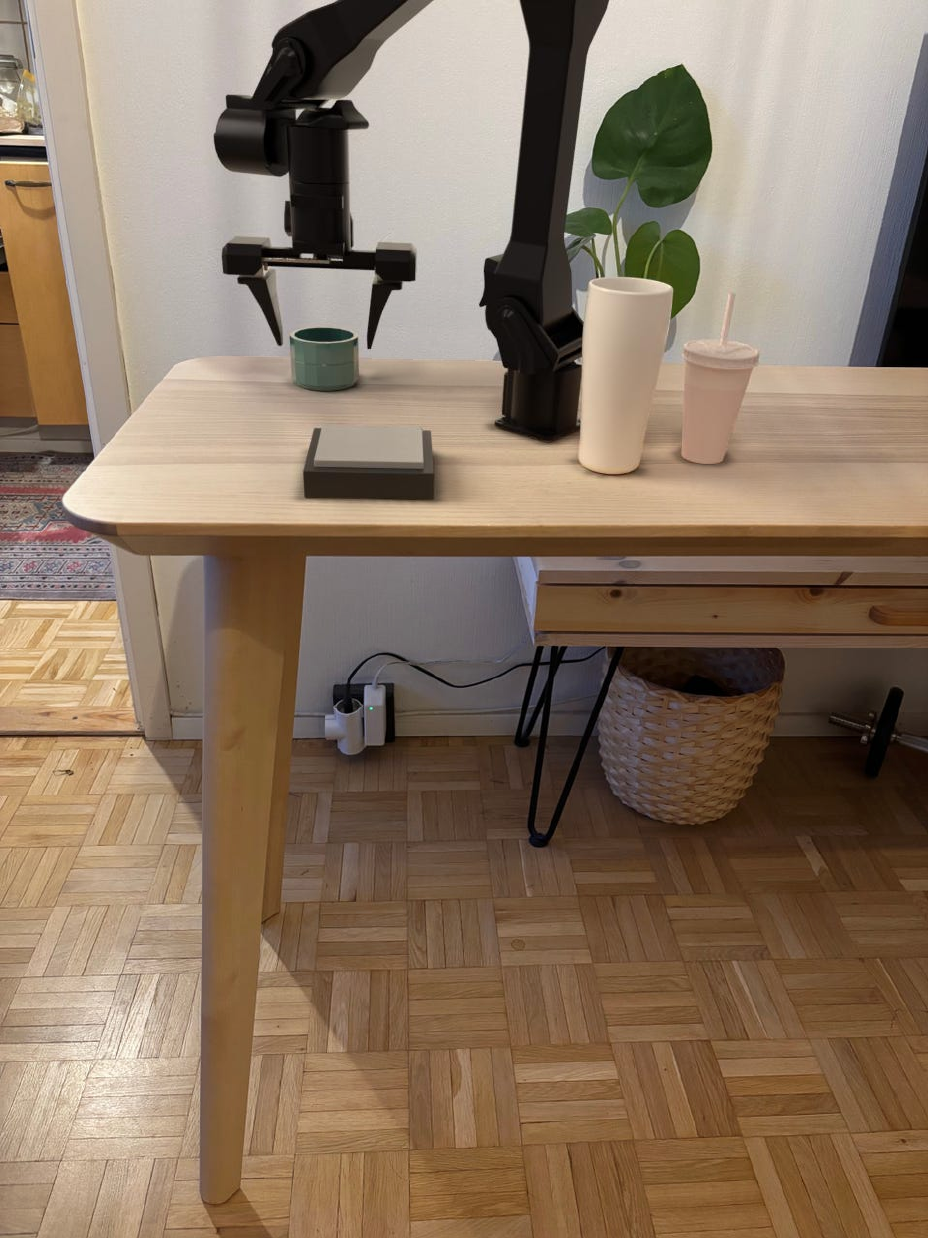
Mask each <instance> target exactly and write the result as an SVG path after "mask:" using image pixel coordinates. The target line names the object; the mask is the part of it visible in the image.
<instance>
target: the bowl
mask: <svg viewBox="0 0 928 1238" xmlns="http://www.w3.org/2000/svg"><path fill="white" fill-rule="evenodd" d="M359 349H360V348H359V333H357V332H356V331H354V330H353V329H349V328H345V327H338V326H337V327H336V326H307V327H302V328H297V329H295V330H292V331H291V332H289V354H290V355H289V356H290V371H291V373H290V374H291V379H292V380H293V381H294V382H296V384H297V385H298V386H299V387H301V388H303V389H307V390H312V391H319V392H332V391H342V390H345V389H349V388H351V387H353V386H354V385H355V383H356V382H357V381H358V380H359V379H360V361H359V359H360V358H359V356H360V355H359V354H360V353H359V352H360V351H359Z"/></svg>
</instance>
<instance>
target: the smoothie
mask: <svg viewBox="0 0 928 1238" xmlns="http://www.w3.org/2000/svg"><path fill="white" fill-rule="evenodd" d="M735 298H736V293H735V292H728V294H727V301H726V306H725V312H724V318H723V322H722V328H721V334H720V339H718V338H717V339H716V338H699V339H692V340H689V341H686V342H685V343H684V345H683V349H682V353H681V358H683V360H684V377H683V379H684V381H683V403H682V404H683V405H682V406H683V407H682V430H681V431H682V433H681V453H680V454H681V457H682V458H683V459H684V460H687V461H688V462H692V463H696V464H700V465H701V464H702V465H716V464H720V463H722V462H723V461H724V460H725V459H724V458H725V455H726V452H727V449H728V447H729V443H730V440H731V437H732V435H733V431H734V428H735V424H736V422H737V418H738V415H739V412H740V409H741V406H742V403H743V401H744V397H745V395H746V393H747V389H748V386H749V383H750V379H751V376H752V373H753V370H754V368H756V367H758V365H759V358H760V354H761V353H760V350H759V349H758V348H757V347H754V346H753V345H751V344H748V343H747V344H746V343H743V342H739V341H733V340H728V337H729V332H730V326H731V321H732V315H733V311H734V305H735V300H736V299H735Z"/></svg>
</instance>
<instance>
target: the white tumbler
mask: <svg viewBox="0 0 928 1238" xmlns="http://www.w3.org/2000/svg"><path fill="white" fill-rule="evenodd" d="M587 287H588V288H587V292H586V298H585V307H584V314H583V322H584V324H583V338H582V357H581V365H582V378H581V387H580V429H579V442H578V451H577V457H578V461H579V463H580V464H581V466H583V467H584V468H586V469H588V470H590V471H592V472H595V473H599V474H606V475H621V474H622V475H623V474H627V473H630V472H633V471H635V470H636V469H637V468H638V467H639V465H640V464H641V458H642V452H643V445H644V440H645V435H646V432H647V431H646V430H647V428H648V427H647V426H648V423H649V419H650V413H651V409H652V405H653V401H654V396H655V392H656V388H657V384H658V379H659V376H660V371H661V367H662V363H663V359H664V354H665V350H666V346H667V342H668V341H667V340H668V334H669V328H670V324H671V323H670V322H671V316H672V315H671V313H672V305H673V297H674V296H673V295H674V288H673V286H671V285H670V284H668V283H666V282H662V281H658V280H654V279H649V278H641V277H631V276H630V277H629V276H606V277H605V276H603V277H599V278H593V279H592V280H590V281H589V282H588V286H587Z"/></svg>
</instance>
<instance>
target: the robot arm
mask: <svg viewBox="0 0 928 1238" xmlns="http://www.w3.org/2000/svg"><path fill="white" fill-rule="evenodd" d="M518 1H519V5H520V10H521V15H522V18H523V22H524V28H525V31H526V35H527V39H528V57H527V58H528V59H527V68H526V69H527V70H526V79H525V89H524V99H523V109H522V120H521V129H520V130H521V132H520V140H519V148H518V149H519V150H518V158H517V160H518V161H517V169H516V178H515V179H516V180H515V190H514V191H515V192H514V202H513V209H512V211H513V212H512V222H511V232H510V236H509V239H508V242H507V245H506V247H505V249H504V251H503V253H500V254H497V255H492V256H488V257H485V259H484V264H483V293H482V296H481V299H480V301H479V303H478V307H479V308H484V307H485V308H484V309H485V310H484V320H485V324H486V328H487V330H488V331H490V332H491V334H492V335H493V337H494V338H495V341H496V344H497V349H498V353H499V356H500V360H501V364H502V367H503V368H504V369H507V371H505V372H504V373H503V382H502V383H503V385H502V398H501V399H502V400H501V401H502V402H501V415H502V417H500V418H497V419H495V420H494V426H495V427H497V428H500V429H504V430H507V431H511V432H514V433H517V434H520V435H524V436H527V437H530V438H533V439H537V440H541V441H544V442H552V441H554V440H557V439H560V438H562V437H564V436H566V435H568V434H571V433H574V432H576V431H577V430H580V420H581V418H580V419H579V418H578V416H579V407H580V397H581V378H582V364H579V363H577V362H576V361H577V360H578V359H580V358H582V338H583V324H584V320H583V319H582V318H581V317H580V315H579V313H578V312H577V311H576V309H575V308H574V307H573V275H572V274H573V273H572V268H571V267H572V266H571V264H570V259H569V255H568V251H567V247H566V243H565V233H566V223H567V216H568V207H569V200H570V192H571V185H572V177H573V169H574V161H575V154H576V153H575V152H576V147H577V146H576V144H577V138H578V130H579V129H578V128H579V121H580V114H581V113H580V112H581V106H582V100H583V99H582V97H583V90H584V81H585V74H586V66H587V58H588V54H589V50H590V47H591V45H592V42H593V40H594V38H595V36H596V34H597V31H598V30H599V27H600V25H601V23H602V21H603V19H604V17H605V14H606V12H607V10H608V6H609V3H610V0H518ZM432 2H434V0H335V1H334V2H331V3H329V4H325V5H322V6H320V7H317V8H314V9H312V10H308V11H307V12H305V13H303V14H302V15H299V17H296V18H295V19H293V20H292V21H290V22H288V23H286V24H285V25H282V27H281V28H279V29H278V31H277V32H276V33H275V34H274V37H273V39H272V41H271V48H272V53H271V56H270V58H269V60H268V62H267V64H266V66H265V69H264V71H263V73H262V75H261V77H260V79H259V81H258V84H257V86H256V87H255V90H254V92H253V94H252V96H251V95H249V94H226V95H225V107H226V108H225V109H224V110H223V111H222V113H220V115H219V117H218V119H217V122H216V125H215V132H214V133H213V146H214V151H215V153H216V156H217V158H218V160H219V162H220V164H221V165H222V166H223V167H224V168H225V169H226V170H228V171H229V172H232V173H239V174H250V175H258V176H268V177H277V178H281V177H283V176H286V175H287V174H288V188H289V200H285V201H284V211H283V229H284V232H285V234H286V235H287V237H290V238H291V245H292V246H291V247H290V246H272V243H271V239H270V237H266V236H265V237H262V236H240V235H239V236H238V235H235V236H234V237H233V238H231V239H230V240H229V241H227V242H226V244H225V245H224V246H223V247H222V249H221V263H222V264H221V266H222V274H224V275H227V276H238V277H237V278H236V280H237V281H236V282H237V284H238V285H245V286H247V287H248V289H249V292H251V294H252V296H253V298H254V300H255V302H256V303H257V304H258V305H259V308H260V309H261V312H262V313H263V316H264V318H265V320H266V323H267V325H268V327H269V329H270V332H271V333H272V336H273V338H274V340H275V342H276V345H277V346H278V347H282V346H283V344H284V329H283V323H282V316H281V309H280V303H279V296H278V290H277V273H276V271H277V270H276V269H275V268H273V267H278V268H300V269H302V268H303V269H325V270H326V269H327V270H328V269H329V270H350V271H351V270H352V271H353V270H354V271H374V278H373V281H372V283H371V294H370V302H369V312H368V320H367V321H368V322H367V330H366V349H367V350H371V349H372V347H373V343H374V340H375V338H376V333H377V330H378V327H379V323H380V320H381V316H382V314H383V311H384V309H385V307H386V305H387V302H388V301H389V299H390V295H391V294H392V292H393V291H401V290H403V287H404V282H405V283H407V282H409V283H410V282H411V283H412V282H416V280H417V273H418V271H417V270H418V269H417V268H418V266H417V265H418V264H417V263H418V262H417V261H418V250H417V248H416V247H415V246H414V245H413V243H411V242H391V241H389V242H387V241H378V242H377V243H376V247H375V250H365V249H353V247H354V246H355V239H354V232H355V231H354V219H353V217H352V216H353V215H352V213H351V195H350V193H351V191H350V185H351V184H350V146H349V145H350V144H349V141H350V139H349V138H350V137H349V136H350V135H349V131H358V130H360V131H361V130H367V129H369V127H370V123H369V121H368V119H367V118H365V116H364V115H363V114H362V113H361V112H360V111H359V110H358V108H356V106H355V104H354V101H352V100H351V99H343V98H345V97H348V95H350V94H351V93H352V91H354V89H355V88H356V87H357V86H358V84H359V83H360V82H361V81H362V80H363V78H364V77H365V76H366V75H367V73H368V72H369V71H370V69H371V68H372V66H373V63H374V61H375V58H376V55H377V53H378V51H379V50H380V49H381V47H382V46H383V45H384V43H385V42H386V41H387V40H389V39H390V38H391V37H392V36H393V35H394V34H396V33H397V32H398V31H400V29H401V28H403V27H404V26H405V25H406V24H407V23H409V22H410V21H411V20H413V18H414V17H416V16H418V14H420V13H421V12H423V10H424V9H425V8H426V7H428V6H429V5H431V3H432ZM330 100H333V101H334V100H335V102H334V104H333V105H332V106H331V107H324V105H326V104H327V103H328V102H329V101H330ZM297 110H298V111H299V110H300V111H301V110H302V111H301V112H300V113H299V115H298V116H297ZM302 255H312V258H311V257H303V256H302Z"/></svg>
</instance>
